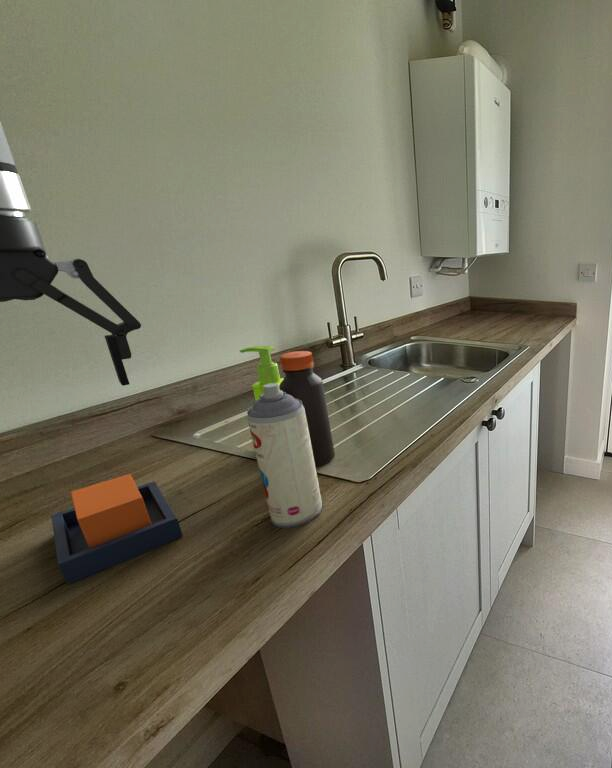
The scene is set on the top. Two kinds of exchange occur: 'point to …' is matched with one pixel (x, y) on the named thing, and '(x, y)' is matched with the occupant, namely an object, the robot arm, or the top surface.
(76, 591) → the top surface
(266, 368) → the soap dispenser
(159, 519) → the dark blue rectangular tray
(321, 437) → the bottle
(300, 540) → the top surface
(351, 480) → the top surface
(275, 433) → the aerosol can
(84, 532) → the block
